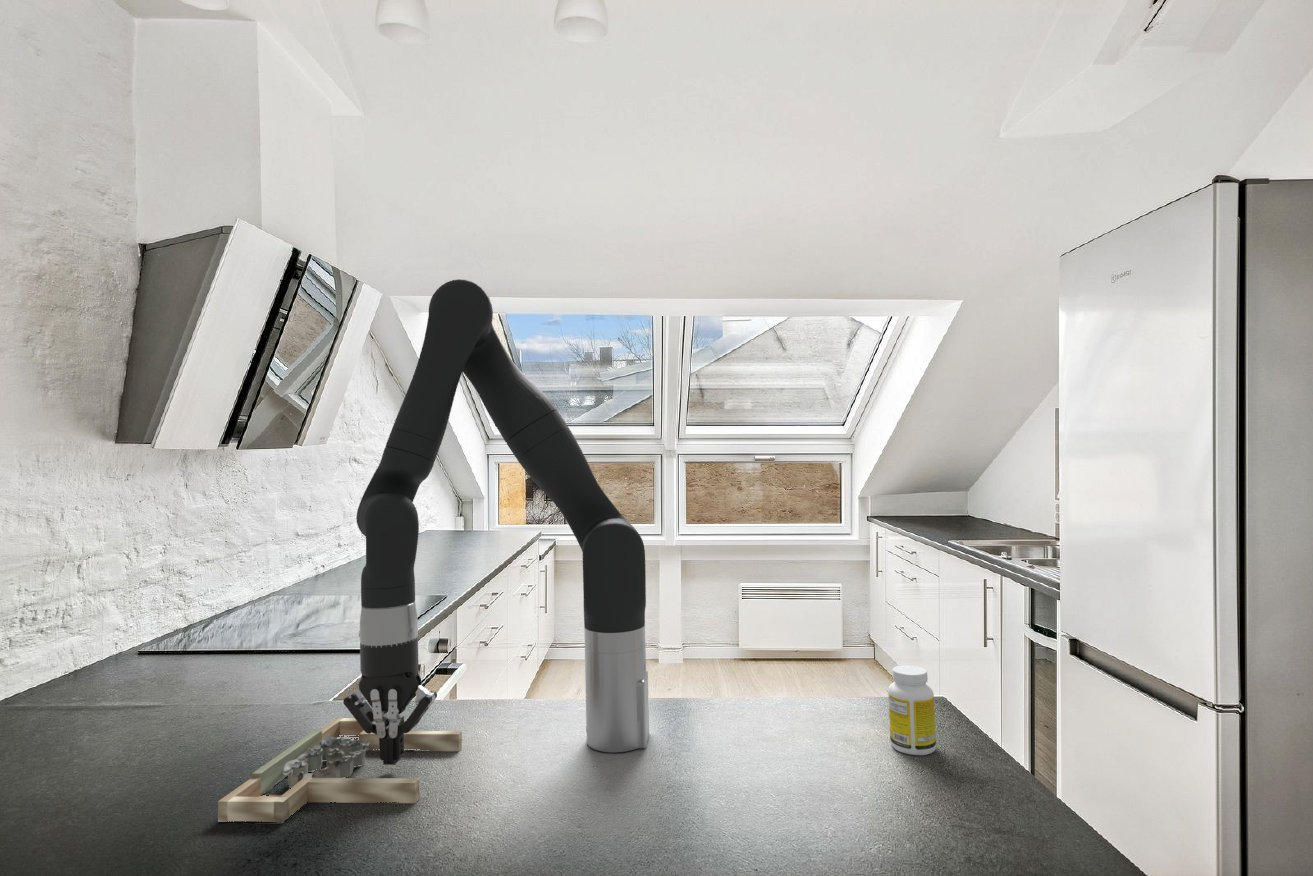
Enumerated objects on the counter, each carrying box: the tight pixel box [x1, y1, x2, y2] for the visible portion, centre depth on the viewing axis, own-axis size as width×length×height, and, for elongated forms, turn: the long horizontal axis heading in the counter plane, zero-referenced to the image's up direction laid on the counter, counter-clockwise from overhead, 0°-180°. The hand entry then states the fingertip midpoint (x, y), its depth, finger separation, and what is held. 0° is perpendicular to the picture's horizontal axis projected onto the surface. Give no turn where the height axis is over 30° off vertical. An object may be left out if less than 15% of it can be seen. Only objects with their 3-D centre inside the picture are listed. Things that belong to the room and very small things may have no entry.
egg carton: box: [283, 735, 370, 788], centre depth 94 cm, size 11×8×4 cm
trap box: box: [217, 717, 463, 824], centre depth 94 cm, size 22×26×3 cm
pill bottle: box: [887, 665, 937, 756], centre depth 98 cm, size 6×6×11 cm
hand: (391, 762), depth 94 cm, fingers closed
